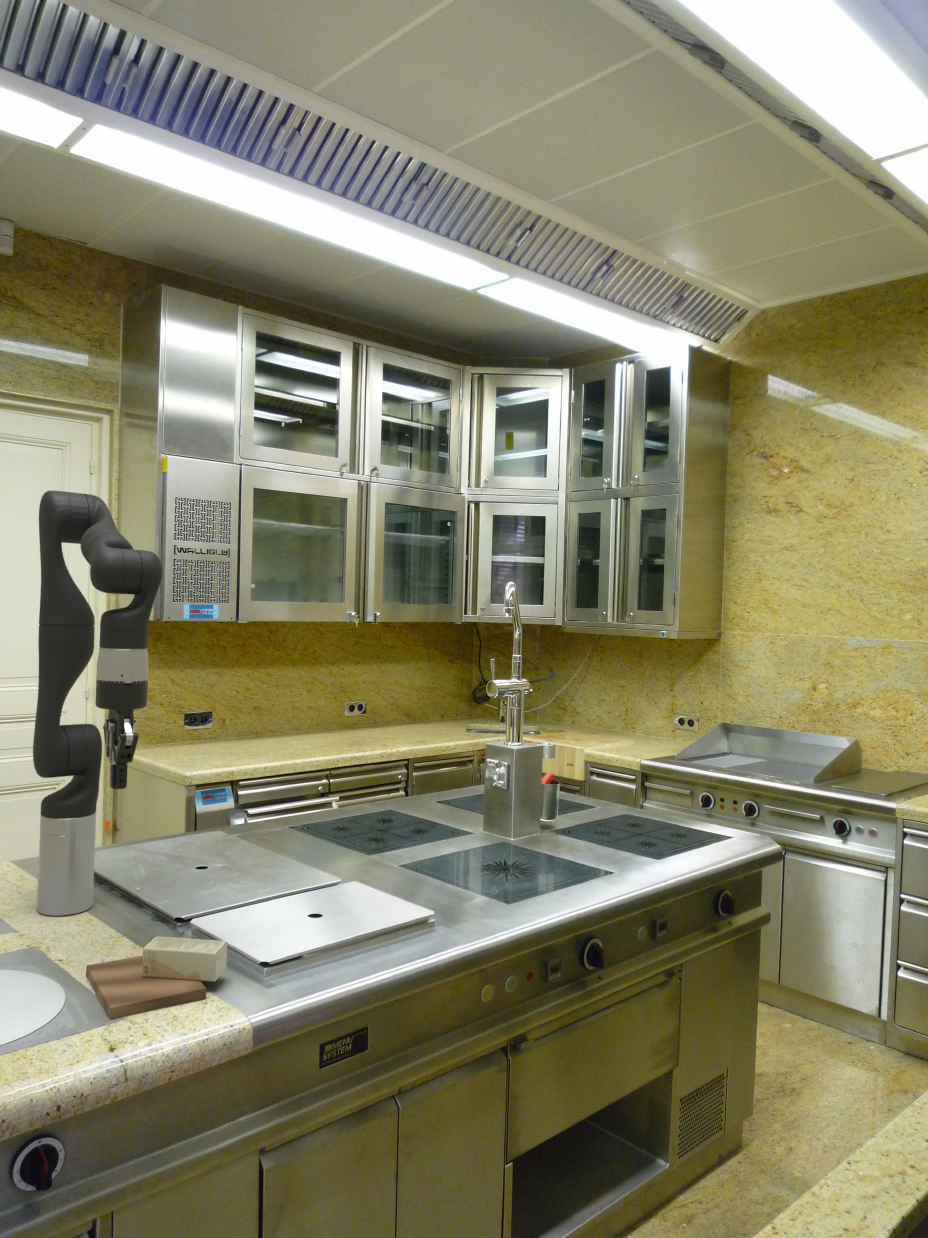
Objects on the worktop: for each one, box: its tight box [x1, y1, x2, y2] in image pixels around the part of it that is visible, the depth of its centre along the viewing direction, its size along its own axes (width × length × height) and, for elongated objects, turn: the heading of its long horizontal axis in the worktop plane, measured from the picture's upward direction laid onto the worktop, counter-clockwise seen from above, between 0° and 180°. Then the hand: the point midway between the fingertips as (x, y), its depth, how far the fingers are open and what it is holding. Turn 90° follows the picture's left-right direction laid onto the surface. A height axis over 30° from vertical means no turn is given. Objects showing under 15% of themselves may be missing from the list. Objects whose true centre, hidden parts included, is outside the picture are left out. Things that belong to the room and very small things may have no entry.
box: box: [142, 936, 228, 982], centre depth 130 cm, size 5×4×11 cm
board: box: [85, 954, 207, 1020], centre depth 128 cm, size 16×13×2 cm
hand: (118, 788), depth 137 cm, fingers closed
